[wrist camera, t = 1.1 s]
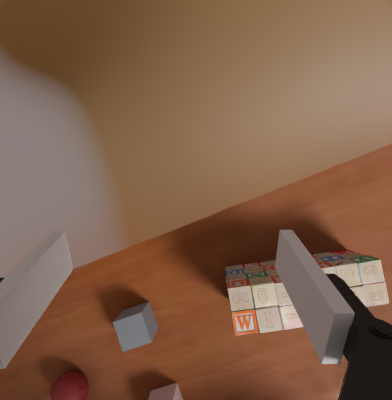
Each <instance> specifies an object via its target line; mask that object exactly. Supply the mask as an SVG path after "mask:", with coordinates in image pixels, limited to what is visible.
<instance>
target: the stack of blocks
mask: <svg viewBox="0 0 392 400" xmlns="http://www.w3.org/2000/svg"><path fill="white" fill-rule="evenodd" d="M312 257H313V258H314V259H315V261H316V262H317V263H318V265H319V266H320V267H321V269H322V270H323V271H324V273H325V274H336V275H337V276H338V277H340V278H341V279H343V280H344V281H345V282H346V283H347V285H348V286H349V287H350V289H352V291H353V292H354V293H355V295H356V296H357V297H358V298H359V299H360V300H361V302H362V303H363V304H364V305H365V306H366V307H367V306H376V305H383V304H389V299H388V294H387V289H386V283H385V281H384V275H383V270H382V265H381V260H380V259H377V258H374V257H371V256H366V255H363V254H360V253H355V252H353V251H350V250H343V251H336V252H326V253H319V254H313V255H312ZM275 261H276V260H273V261H266V262H260V263H259V262H257V263H249V264H242V265H233V266H226V267H225V272H226V285H227V290H228V297H229V302H230V308H231V313H232V319H233V324H234V330H235V335H244V334H251V333H258V332H260V333H265V332H271V331H278V330H282V329H285V330H287V329H293V328H300V327H304V326H303V324H302V322H301V320H300V318H299V316H298V314H297V312H296V310H295V308H294V306H293V304H292V302H291V299H290V297H289V295H288V293H287V291H286V289H285V287H284V285H283V283H282V281H281V279H280V277H279V275H278V273H277V271H276V269H275Z"/></svg>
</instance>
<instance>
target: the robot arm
mask: <svg viewBox="0 0 392 400" xmlns="http://www.w3.org/2000/svg"><path fill="white" fill-rule="evenodd" d="M275 269H276V271H277V273H278V275H279V277H280V279H281V281H282V283H283V285H284V287H285V289H286V291H287V293H288V295H289V297H290V299H291V302H292V304H293V306H294V308H295V310H296V312H297V314H298V316H299V318H300V320H301V322H302V324H303V326H304V328H305V330H306V332H307V334H308V336H309V339H310V341H311V343H312V345H313V347H314V349H315V351H316V353H317V355H318V357H319V359H320V361H321V363H322V364H340V362H341V359H342V356H343V354H344V356H345V357H346V359H347V361H348V362H349V364H348V367H347V370H346V373H345V376H344V380H343V384H342V388H341V391H340V395H339V398H338V400H392V325H391V324H389V323H387V322H385V321H383V320H380V319H377V318H375V317H374V316H373V315H372V314H371V312H370V311H369V310H368V309H367V308H366V306H365V305H364V304H363V303H362V302H361V300H360V299H359V298H358V297H357V296H356V295H355V293H354V292H353V291H352V289H350V287H349V286H348V285H347V283H346V282H345V281H344V280H343V279H341V278H340V277H338V276H337V275H336V274H325V273H324V271H323V270H322V269H321V267H320V266H319V265H318V263H317V262H316V261H315V259H314V258H313V257H312V255H311V254H310V253H309V252H308V250H307V249H306V248H305V246H304V245H303V244H302V242H301V241H300V240H299V238H298V237H297V236H296V234H295V233H294V232H293V230H280V232H279V239H278V246H277V254H276V261H275ZM72 270H73V265H72V261H71V256H70V251H69V247H68V242H67V237H66V232H52V233H51V234H50V235H49V236H48V237H47V238H46V239H45V240H44V241H42V243H40V244H39V245H38V247H36V248H35V249H34V250H33V251H32V252H31V253H30V254H29V255H28V256H27V257H26V258H25V259H24V260H23V261H22V262H21V263H20V264H19V265H18V266H17V267H16V268H15V269H14V270H13V271H12V272H11V273H10V274H9V275H8V276H7V277H6V278H0V369H5V368H6V366H7V365H8V364H9V362H10V361H11V359H12V358H13V356H14V355H15V353H16V352H17V350H18V349H19V348H20V346H21V345H22V343H23V342H24V340H25V339H26V337H27V336H28V334H29V333H30V331H31V330H32V329H33V327H34V326H35V324H36V323H37V321H38V320H39V318H40V317H41V315H42V314H43V313H44V311H45V310H46V308H47V307H48V305H49V304H50V302H51V301H52V299H53V298H54V296H55V295H56V294H57V292H58V291H59V289H60V288H61V286H62V285H63V283H64V282H65V280H66V279H67V278H68V276H69V275H70V273H71V272H72Z"/></svg>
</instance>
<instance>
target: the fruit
mask: <svg viewBox="0 0 392 400" xmlns="http://www.w3.org/2000/svg"><path fill="white" fill-rule="evenodd" d="M88 390H89V387H88V382H87V379H86V377H85V375H84V374H82V373H80V372H77V371H71V372H67V373H65V374H63V375H62V376H60V377H59V378H58V379H57V380H56V381H55V383H54V384H53V386H52V388H51V391H50V394H51V399H52V400H85V399H86V397H87V394H88Z"/></svg>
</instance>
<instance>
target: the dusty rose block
mask: <svg viewBox="0 0 392 400" xmlns="http://www.w3.org/2000/svg"><path fill="white" fill-rule="evenodd" d="M148 400H183V398H182V395H181V392H180V389H179V387H178V384H177V383H174V384H170V385H167V386H164V387H161V388H158V389H155V390H152V391H151V392H150V395H149V398H148Z"/></svg>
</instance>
